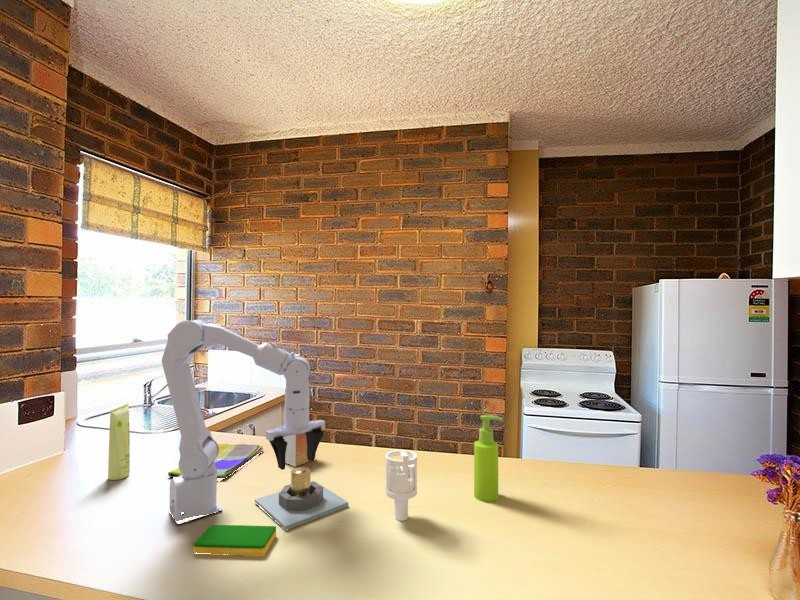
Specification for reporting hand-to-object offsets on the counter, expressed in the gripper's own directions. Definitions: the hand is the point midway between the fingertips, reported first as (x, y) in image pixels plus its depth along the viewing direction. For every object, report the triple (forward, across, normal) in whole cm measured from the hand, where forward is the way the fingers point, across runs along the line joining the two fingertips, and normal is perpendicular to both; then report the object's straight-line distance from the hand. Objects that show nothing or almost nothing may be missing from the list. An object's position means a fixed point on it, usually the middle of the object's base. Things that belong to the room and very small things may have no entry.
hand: (296, 464), depth 98 cm
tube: (+10, -30, +46) cm, 56 cm away
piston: (+8, 0, -1) cm, 8 cm away
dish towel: (+10, -6, +38) cm, 40 cm away
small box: (+10, +13, +23) cm, 29 cm away
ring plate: (+9, 0, -2) cm, 9 cm away
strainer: (+9, +15, -22) cm, 28 cm away
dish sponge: (+10, -17, -8) cm, 21 cm away
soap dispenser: (+9, +38, -28) cm, 48 cm away
